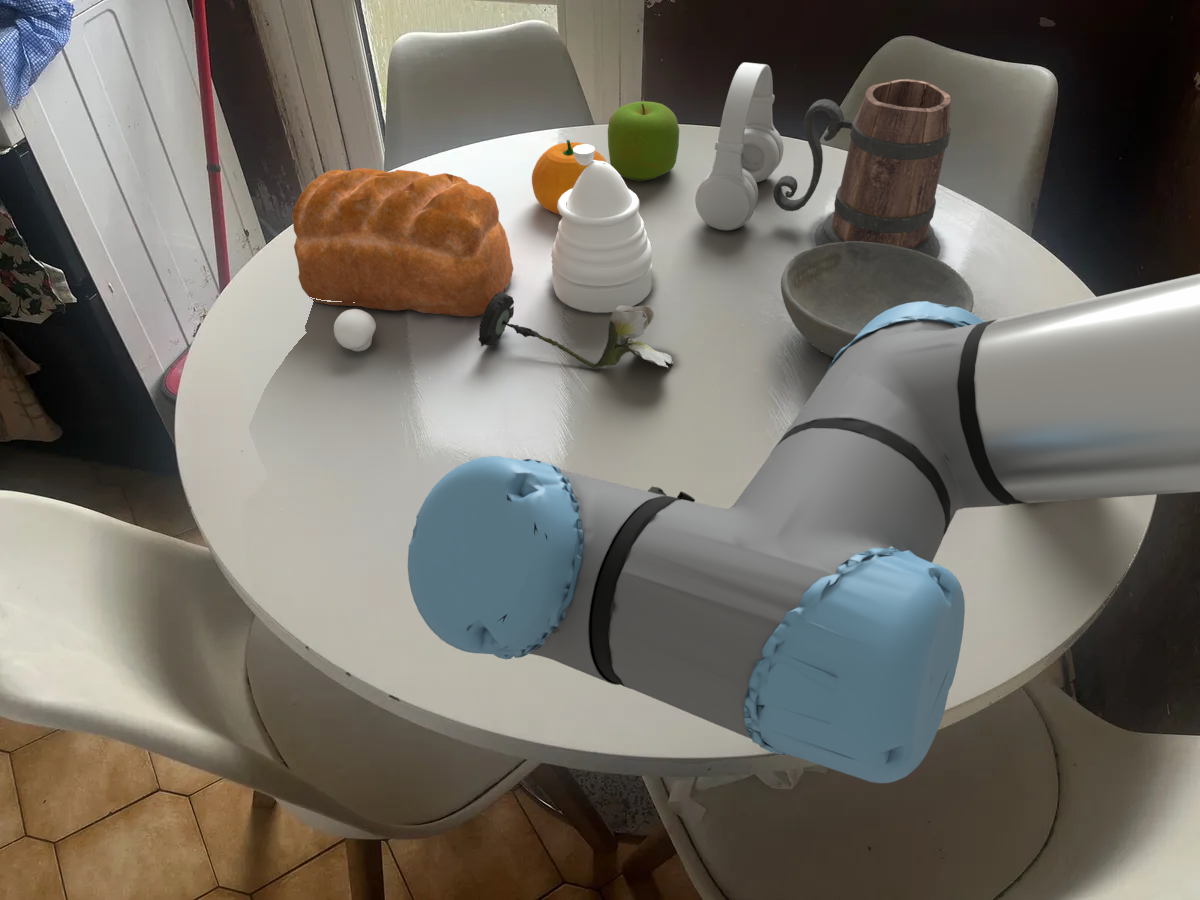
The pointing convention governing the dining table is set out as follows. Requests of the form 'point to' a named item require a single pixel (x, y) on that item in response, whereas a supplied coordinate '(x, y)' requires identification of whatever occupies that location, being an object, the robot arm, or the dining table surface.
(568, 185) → the fruit
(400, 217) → the bread
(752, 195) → the headphones
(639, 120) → the apple
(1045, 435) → the robot arm
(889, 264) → the bowl
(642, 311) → the artificial flower
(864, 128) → the tankard
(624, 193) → the honey pot
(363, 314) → the mushroom
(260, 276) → the dining table surface
